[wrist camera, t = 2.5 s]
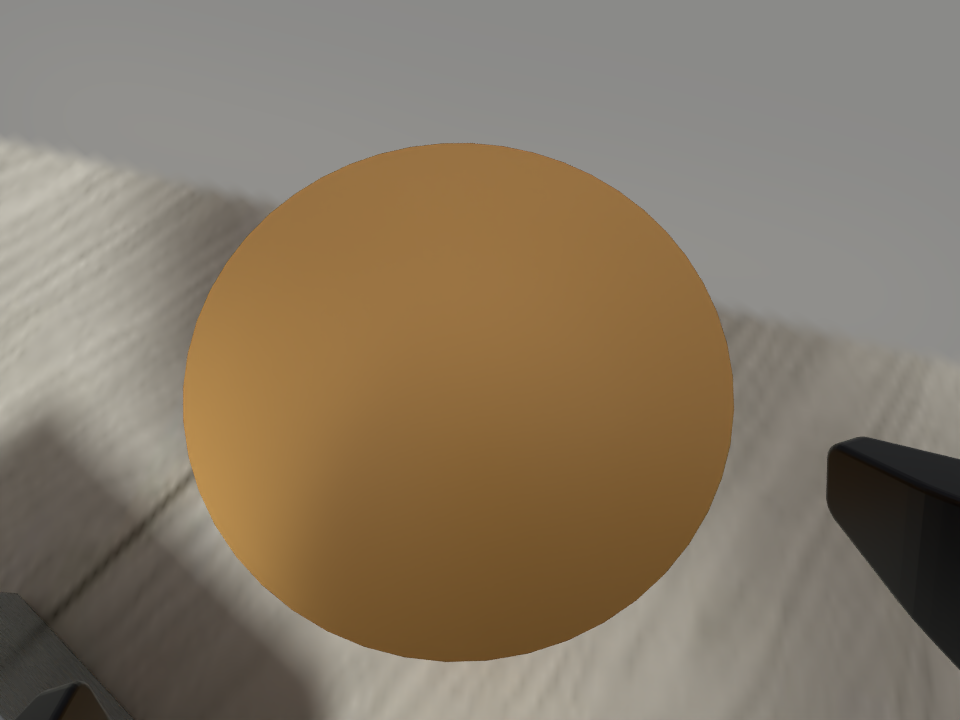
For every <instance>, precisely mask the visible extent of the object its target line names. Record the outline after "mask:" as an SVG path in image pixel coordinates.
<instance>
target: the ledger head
mask: <svg viewBox="0 0 960 720" xmlns="http://www.w3.org/2000/svg"><path fill="white" fill-rule="evenodd" d="M73 681H83V682H85V683H86V684H88V685H89V686H90V688H91V689H92V691H93V692H94V694H95V696H96V697H97V699H98V700H99V702H100V704H101V705H102V707H103V709H104V710H105V712H106V713H107V715H108V717H109V718H110V720H134V719H133V718H132V717H131V716H130V715H129V714H128V713H127V712H126V710H125V709H124V708H123V707H122V706H121V705H120V704H119V703H118V702H117V701H116V700H115V699H114V697H113V696H112V695H111V694H110V693H109V692H108V691H107V690H106V689H105V688H104V687H103V686H102V685H101V683H100V682H99V681H98V680H97V679H96V678H95V677H94V676H93V675H92V674H91V673H90V672H89V670H88V669H87V668H86V667H85V666H84V665H83V664H82V663H81V662H80V661H79V660H78V659H77V658H76V656H75V655H74V654H73V653H72V652H71V651H70V650H69V649H68V648H67V647H66V646H65V645H64V643H63V642H62V641H61V640H60V639H59V638H58V637H57V636H56V635H55V634H54V633H53V632H52V631H51V629H50V628H49V627H48V626H47V625H46V624H45V623H44V622H43V621H42V620H41V619H40V618H39V617H38V615H37V614H36V613H35V612H34V611H33V610H32V609H31V608H30V607H29V606H28V605H27V604H26V602H25V601H24V600H23V599H22V598H21V597H20V596H19V595H18V594H16V593H5V592H0V720H14V719H15V718H16V717H17V716H18V715H19V714H20V713H21V712H22V711H23V710H24V708H25V707H26V706H27V705H28V704H29V703H30V702H31V701H32V700H33V699H34V698H35V697H36V696H37V695H38V694H40V693H41V692H43V691H45V690H48V689H51V688H54V687H57V686H60V685H64V684H67V683H70V682H73Z"/></svg>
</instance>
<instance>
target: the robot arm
mask: <svg viewBox="0 0 960 720" xmlns="http://www.w3.org/2000/svg"><path fill="white" fill-rule="evenodd" d="M826 499H827V504H828V508H829V510H830V512H831V514H832V516H833V518H834V519H835V521H836V522H837V523H838V524H839V526H840V527H841V528H842V530H843V531H844V532H845V533H846V535H847V536H848V537H849V539H850V540H851V541H852V542H853V544H854V545H855V546H856V548H857V549H858V550H859V552H860V553H861V554H862V555H863V557H864V558H865V559H866V561H867V562H868V563H869V564H870V566H871V567H872V568H873V570H874V571H875V572H876V573H877V575H878V576H879V577H880V579H881V580H882V581H883V583H884V584H885V585H886V586H887V588H888V589H889V590H890V592H891V593H892V594H893V595H894V597H895V598H896V599H897V601H898V602H899V603H900V604H901V605H902V607H903V608H904V609H905V610H906V612H907V613H908V614H909V615H910V616H911V618H912V619H913V620H914V621H915V622H916V623H917V624H918V626H919V627H920V628H921V629H922V630H923V631H924V632H925V633H926V634H927V636H928V637H929V638H930V639H931V640H932V641H933V642H934V643H935V644H936V645H937V646H938V647H939V648H940V649H941V651H942V652H943V653H944V654H945V655H946V656H947V657H948V658H949V659H950V660H951V661H952V662H953V663H954V664H955V665H956V667H957V668H958V669H959V670H960V459H956V458H952V457H948V456H944V455H939V454H935V453H931V452H927V451H923V450H919V449H914V448H910V447H906V446H902V445H898V444H894V443H889V442H885V441H881V440H877V439H873V438H869V437H857V438H853V439H850V440H847V441H844V442H840V443H837V444H835V445H833V446H832V447H831V448H830V450H829V452H828V456H827V488H826ZM14 720H110V718H109V717H108V715H107V713H106V712H105V710H104V709H103V707H102V705H101V704H100V702H99V700H98V699H97V697H96V696H95V694H94V692H93V691H92V689H91V688H90V686H89V685H88V684H86V683H85V682H83V681H73V682H70V683H67V684H64V685H60V686H57V687H54V688H51V689H48V690H45V691H43V692H41V693H40V694H38V695H37V696H36V697H35V698H34V699H33V700H32V701H31V702H30V703H29V704H28V705H27V706H26V707H25V708H24V710H23V711H22V712H21V713H20V714H19V715H18V716H17V717H16V718H15V719H14Z"/></svg>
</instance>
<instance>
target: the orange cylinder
mask: <svg viewBox="0 0 960 720" xmlns="http://www.w3.org/2000/svg"><path fill="white" fill-rule="evenodd" d="M733 414H734V398H733V375H732V369H731V363H730V358H729V352H728V346H727V342H726V339H725V336H724V332H723V329H722V326H721V323H720V320H719V317H718V313H717V311H716V309H715V307H714V305H713V302H712V300H711V298H710V296H709V294H708V292H707V290H706V288H705V285H704V283H703V282H702V280H701V278H700V277H699V275H698V274H697V272H696V270H695V269H694V267H693V266H692V265H691V263H690V261H689V259H688V258H687V256H686V255H685V254H684V253H683V251H682V250H681V249H680V248H679V247H678V245H677V244H676V243H675V242H674V240H673V239H672V238H671V237H670V235H669V234H668V233H667V232H666V231H665V230H664V229H663V228H662V227H661V226H660V225H659V224H658V223H657V222H656V221H655V220H654V219H653V218H652V217H651V216H650V215H648V214H647V213H646V212H645V211H644V210H643V209H642V208H640V207H639V206H638V205H637V204H635V203H634V202H633V201H631V200H630V199H628V198H627V197H626V196H625V195H623V194H622V193H621V192H619V191H618V190H616V189H614V188H613V187H611V186H609V185H608V184H606V183H604V182H603V181H601V180H599V179H597V178H596V177H594V176H593V175H590V174H588V173H586V172H584V171H582V170H579V169H577V168H575V167H573V166H571V165H568V164H566V163H564V162H561V161H558V160H555V159H552V158H549V157H545V156H542V155H539V154H536V153H533V152H528V151H523V150H518V149H514V148H509V147H504V146H495V145H485V144H475V143H454V144H453V143H445V144H444V143H443V144H433V145H424V146H415V147H409V148H404V149H400V150H396V151H391V152H386V153H382V154H378V155H375V156H372V157H369V158H366V159H364V160H361V161H358V162H355V163H352V164H349V165H347V166H345V167H343V168H341V169H339V170H337V171H334V172H332V173H330V174H328V175H326V176H324V177H322V178H320V179H318V180H317V181H315V182H314V183H312V184H310V185H309V186H307V187H305V188H304V189H302V190H301V191H299V192H297V193H296V194H294V195H293V196H292V197H290V198H289V199H288V200H287V201H285V202H284V203H283V204H281V205H280V206H279V207H278V208H276V209H275V210H274V211H273V212H271V213H270V214H269V215H268V216H267V217H266V218H265V219H264V220H263V221H262V222H261V223H260V224H259V225H258V226H257V227H256V228H255V229H254V230H253V231H252V232H251V233H250V234H249V235H248V236H247V237H246V238H245V240H244V241H243V242H242V243H241V245H240V246H239V247H238V249H237V250H236V251H235V252H234V254H233V255H232V256H231V258H230V259H229V260H228V261H227V263H226V264H225V266H224V268H223V270H222V271H221V273H220V275H219V276H218V278H217V280H216V281H215V283H214V285H213V286H212V288H211V290H210V292H209V294H208V296H207V299H206V301H205V303H204V306H203V308H202V310H201V313H200V315H199V317H198V320H197V322H196V326H195V330H194V333H193V337H192V340H191V344H190V347H189V351H188V356H187V363H186V371H185V378H184V385H183V422H184V429H185V436H186V442H187V449H188V456H189V459H190V463H191V466H192V469H193V473H194V476H195V479H196V483H197V486H198V489H199V492H200V494H201V496H202V498H203V501H204V503H205V505H206V507H207V509H208V511H209V513H210V515H211V518H212V520H213V522H214V524H215V526H216V527H217V529H218V530H219V532H220V533H221V535H222V536H223V538H224V539H225V541H226V542H227V544H228V545H229V547H230V548H231V550H232V551H233V553H234V554H235V556H236V557H237V558H238V559H239V560H240V561H241V562H242V564H243V565H244V566H245V567H246V568H247V569H248V570H249V571H250V572H251V574H252V575H253V576H254V577H255V578H256V579H257V580H258V581H259V582H260V583H261V585H263V586H264V587H265V588H266V589H267V590H269V591H270V592H271V593H272V594H273V595H275V596H276V597H277V598H278V599H279V600H281V601H282V602H283V603H284V604H286V605H287V606H288V607H289V608H290V609H292V610H293V611H295V612H296V613H298V614H300V615H301V616H303V617H305V618H306V619H308V620H310V621H311V622H313V623H315V624H316V625H318V626H320V627H321V628H323V629H325V630H326V631H328V632H331V633H333V634H335V635H338V636H340V637H343V638H345V639H347V640H350V641H352V642H354V643H357V644H359V645H362V646H364V647H367V648H371V649H375V650H379V651H383V652H387V653H390V654H394V655H398V656H402V657H407V658H416V659H425V660H434V661H443V662H456V661H487V660H493V659H499V658H505V657H510V656H516V655H522V654H527V653H531V652H534V651H537V650H540V649H543V648H546V647H549V646H552V645H555V644H559V643H562V642H565V641H568V640H570V639H572V638H574V637H576V636H578V635H580V634H582V633H584V632H586V631H588V630H590V629H592V628H594V627H596V626H598V625H600V624H602V623H604V622H606V621H607V620H608V619H610V618H611V617H613V616H614V615H616V614H617V613H619V612H620V611H621V610H623V609H624V608H626V607H627V606H629V605H630V604H632V603H633V602H635V601H636V600H637V599H638V598H639V597H640V596H642V595H643V594H644V593H645V592H646V591H647V590H648V589H649V588H650V587H651V586H652V585H653V584H655V583H656V582H657V581H658V580H659V579H660V578H661V577H662V576H663V575H664V574H665V573H666V572H667V571H668V570H669V568H670V567H671V566H672V565H673V563H674V562H675V561H676V560H677V558H678V557H679V556H680V555H681V553H682V552H683V551H684V550H685V548H686V547H687V546H688V545H689V543H690V542H691V540H692V538H693V537H694V535H695V533H696V532H697V530H698V528H699V526H700V525H701V523H702V521H703V520H704V518H705V516H706V515H707V513H708V511H709V508H710V506H711V504H712V501H713V499H714V496H715V494H716V491H717V489H718V487H719V484H720V482H721V479H722V476H723V472H724V468H725V464H726V460H727V456H728V452H729V448H730V443H731V433H732V424H733Z"/></svg>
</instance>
